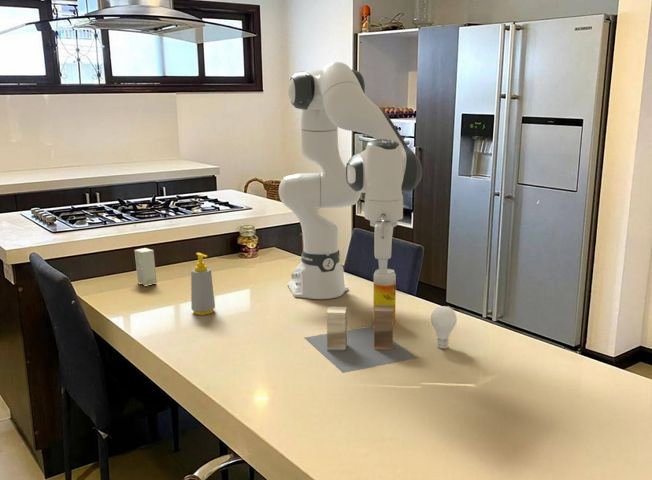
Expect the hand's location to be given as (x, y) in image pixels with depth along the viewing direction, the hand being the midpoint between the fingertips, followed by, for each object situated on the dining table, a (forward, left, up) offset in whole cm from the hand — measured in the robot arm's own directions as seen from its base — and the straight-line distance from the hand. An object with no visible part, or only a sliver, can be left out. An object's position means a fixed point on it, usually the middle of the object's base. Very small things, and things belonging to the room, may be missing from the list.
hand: (383, 269), depth 148 cm
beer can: (-21, +12, -22) cm, 33 cm away
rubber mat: (-7, -3, -22) cm, 23 cm away
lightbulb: (+2, +16, -22) cm, 27 cm away
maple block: (-9, -8, -22) cm, 25 cm away
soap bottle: (-52, -32, -22) cm, 65 cm away
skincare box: (-90, -43, -22) cm, 102 cm away
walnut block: (-5, +3, -22) cm, 22 cm away
